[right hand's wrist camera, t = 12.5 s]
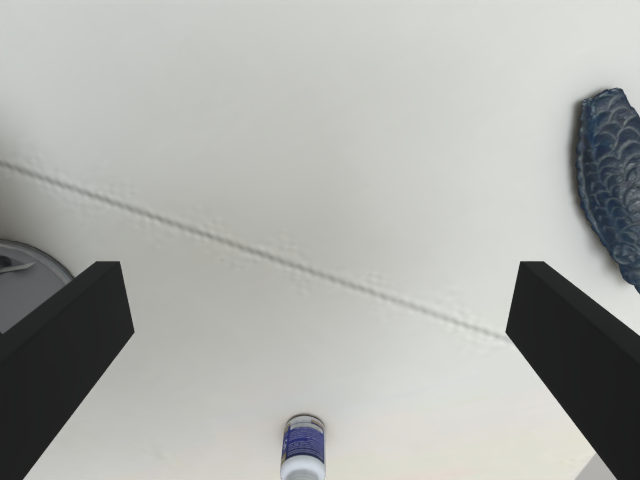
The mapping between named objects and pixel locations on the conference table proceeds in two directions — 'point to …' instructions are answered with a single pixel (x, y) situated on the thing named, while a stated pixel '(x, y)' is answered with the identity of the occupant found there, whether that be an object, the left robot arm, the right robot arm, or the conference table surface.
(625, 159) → the fish model
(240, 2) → the conference table surface
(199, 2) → the conference table surface
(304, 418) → the pill bottle
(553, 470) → the conference table surface
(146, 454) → the conference table surface
